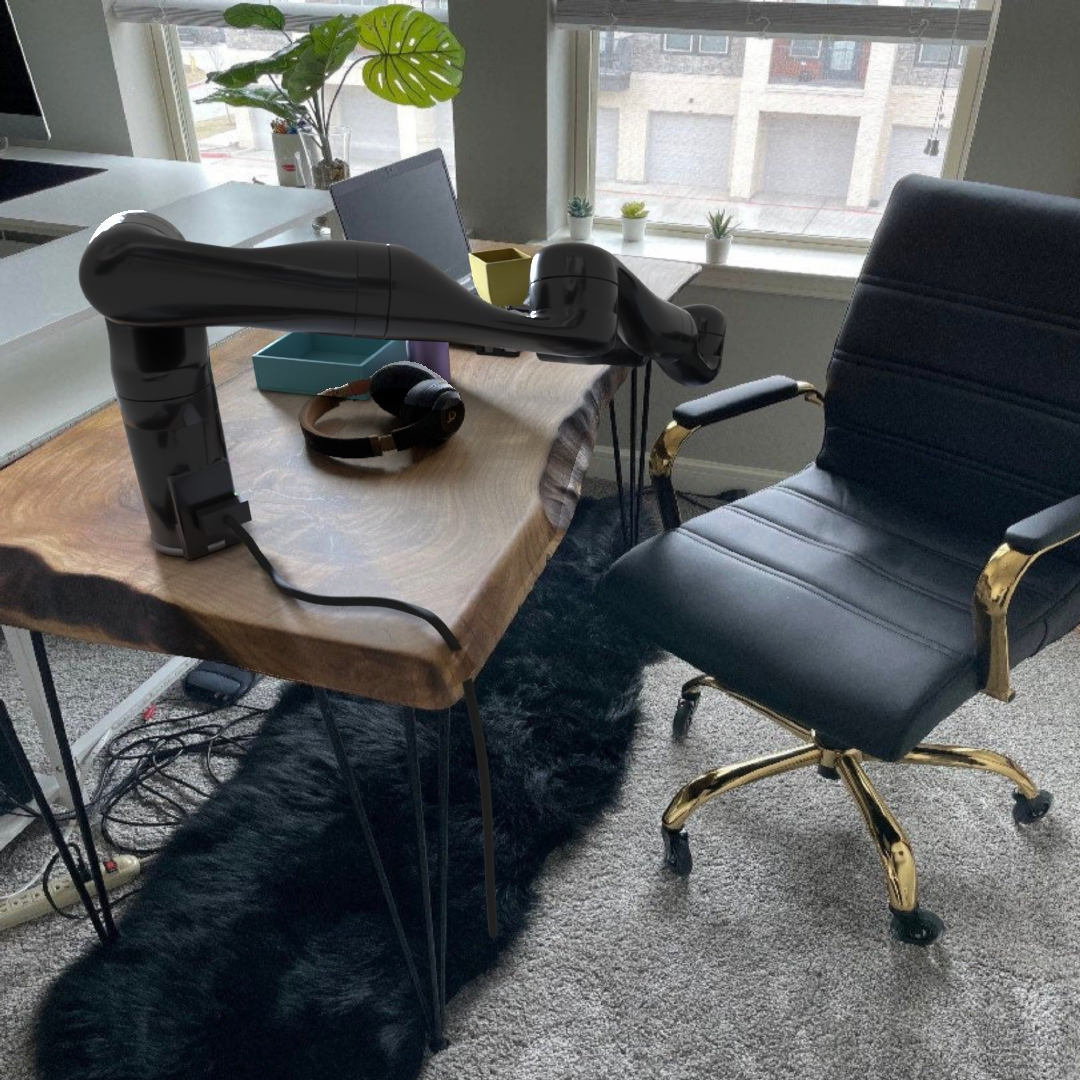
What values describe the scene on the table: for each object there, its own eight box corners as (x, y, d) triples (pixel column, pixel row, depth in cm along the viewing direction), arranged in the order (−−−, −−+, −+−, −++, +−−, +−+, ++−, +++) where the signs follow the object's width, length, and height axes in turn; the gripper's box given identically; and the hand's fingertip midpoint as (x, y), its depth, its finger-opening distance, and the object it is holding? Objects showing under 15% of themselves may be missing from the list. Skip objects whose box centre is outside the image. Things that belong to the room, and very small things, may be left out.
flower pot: (470, 303, 177) (467, 252, 172) (515, 296, 180) (513, 245, 175) (489, 316, 170) (486, 263, 165) (535, 309, 173) (534, 257, 168)
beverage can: (444, 392, 140) (437, 287, 133) (404, 390, 141) (394, 285, 134) (456, 377, 145) (449, 275, 138) (417, 375, 146) (408, 273, 139)
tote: (411, 361, 152) (409, 329, 149) (366, 400, 138) (362, 366, 136) (311, 351, 156) (306, 320, 154) (257, 389, 143) (251, 356, 140)
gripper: (560, 380, 129) (444, 370, 133) (587, 345, 141) (479, 336, 145) (560, 325, 126) (440, 315, 130) (587, 293, 137) (477, 285, 141)
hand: (461, 326), depth 137 cm, fingers open, 8 cm apart
